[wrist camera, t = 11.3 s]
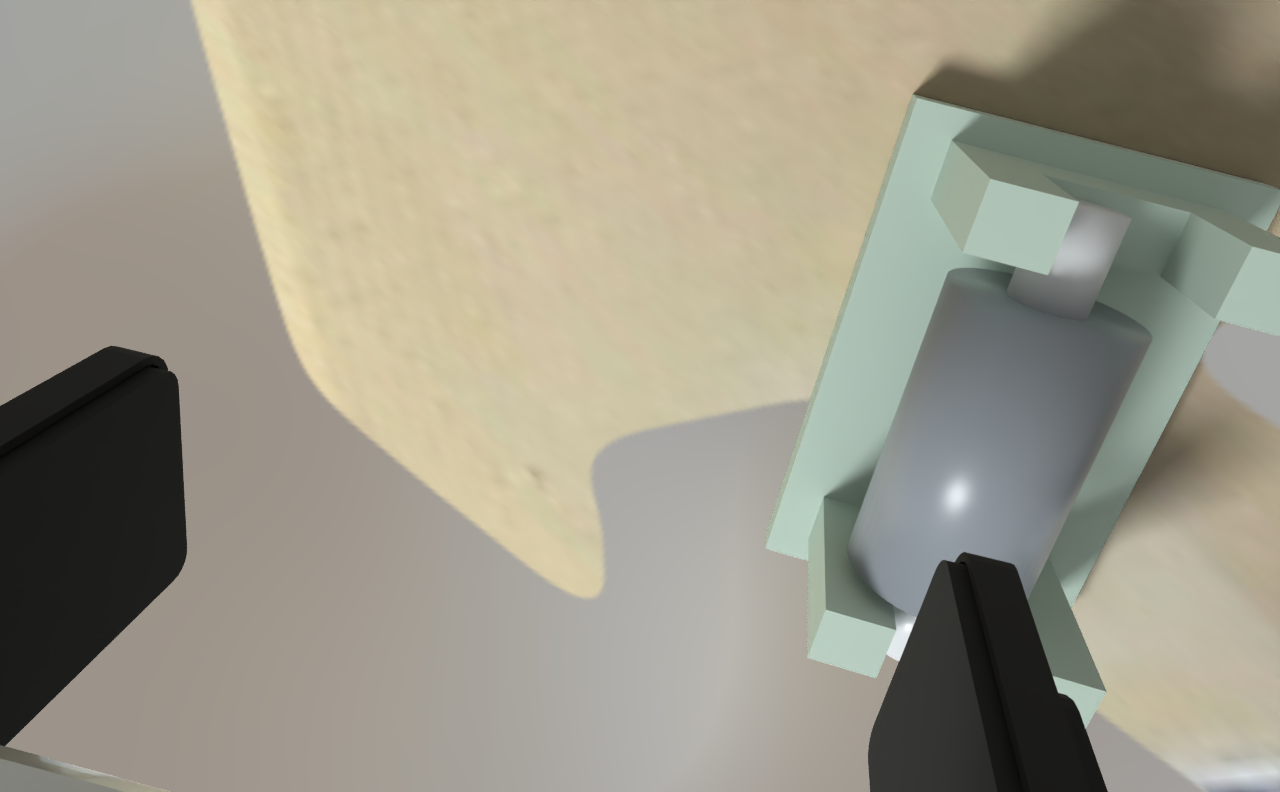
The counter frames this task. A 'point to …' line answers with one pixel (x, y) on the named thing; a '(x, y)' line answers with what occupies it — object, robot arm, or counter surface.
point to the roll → (999, 419)
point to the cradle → (1002, 240)
